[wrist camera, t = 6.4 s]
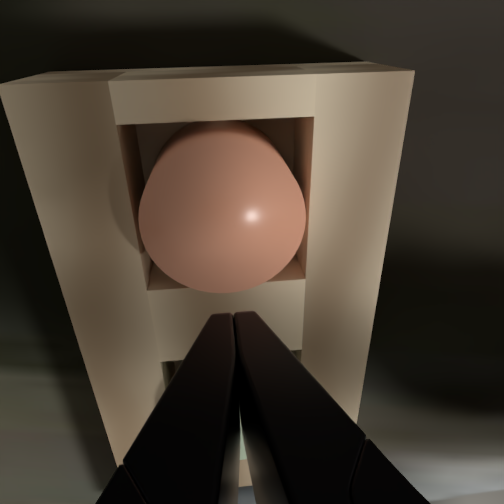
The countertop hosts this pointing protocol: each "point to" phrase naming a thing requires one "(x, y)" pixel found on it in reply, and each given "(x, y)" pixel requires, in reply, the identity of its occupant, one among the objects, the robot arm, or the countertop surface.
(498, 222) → the countertop surface
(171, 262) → the terracotta button
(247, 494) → the blue button
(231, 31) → the countertop surface
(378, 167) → the button panel
